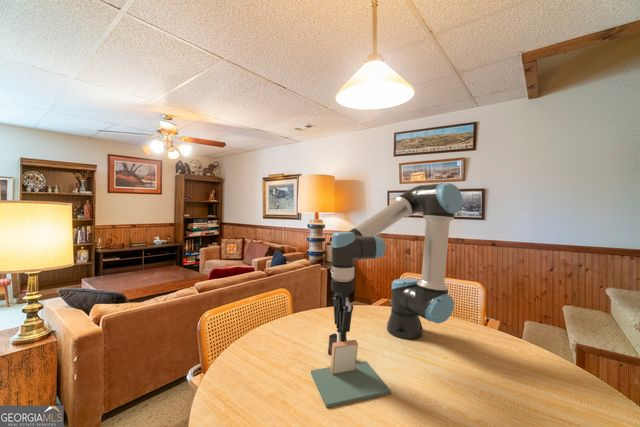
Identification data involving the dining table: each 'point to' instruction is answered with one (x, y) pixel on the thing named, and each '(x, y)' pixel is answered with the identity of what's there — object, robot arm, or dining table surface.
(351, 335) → the dining table surface
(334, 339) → the electronic device
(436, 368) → the dining table surface
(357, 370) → the mat
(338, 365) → the tile
